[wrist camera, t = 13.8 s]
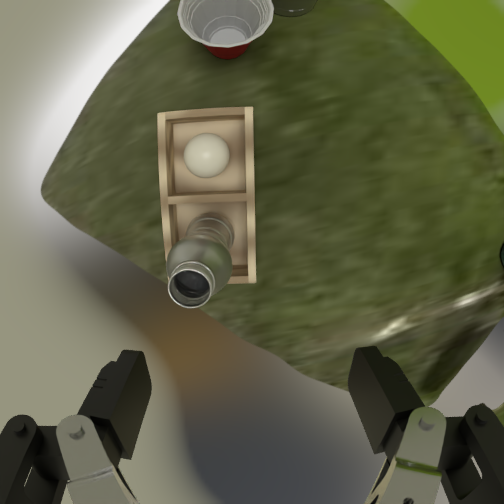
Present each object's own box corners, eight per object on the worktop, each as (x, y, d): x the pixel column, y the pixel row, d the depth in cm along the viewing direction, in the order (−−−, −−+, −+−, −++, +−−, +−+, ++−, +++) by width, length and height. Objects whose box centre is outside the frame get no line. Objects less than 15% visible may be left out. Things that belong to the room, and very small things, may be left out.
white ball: (187, 136, 38) (178, 132, 33) (230, 134, 39) (228, 129, 33) (188, 178, 40) (180, 180, 34) (231, 176, 40) (229, 178, 35)
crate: (167, 119, 38) (157, 113, 33) (251, 113, 39) (252, 106, 33) (176, 270, 45) (168, 284, 40) (254, 268, 45) (256, 282, 40)
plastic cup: (232, 89, 37) (229, 62, 26) (177, 50, 35) (157, 17, 24) (281, 42, 35) (294, 5, 24) (226, 5, 33) (222, -37, 21)
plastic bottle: (184, 215, 42) (140, 258, 23) (230, 206, 42) (221, 243, 22) (194, 257, 44) (162, 327, 24) (239, 249, 43) (237, 317, 24)
